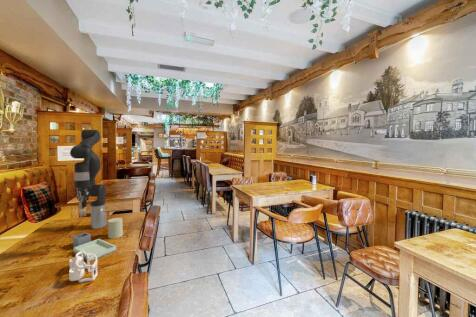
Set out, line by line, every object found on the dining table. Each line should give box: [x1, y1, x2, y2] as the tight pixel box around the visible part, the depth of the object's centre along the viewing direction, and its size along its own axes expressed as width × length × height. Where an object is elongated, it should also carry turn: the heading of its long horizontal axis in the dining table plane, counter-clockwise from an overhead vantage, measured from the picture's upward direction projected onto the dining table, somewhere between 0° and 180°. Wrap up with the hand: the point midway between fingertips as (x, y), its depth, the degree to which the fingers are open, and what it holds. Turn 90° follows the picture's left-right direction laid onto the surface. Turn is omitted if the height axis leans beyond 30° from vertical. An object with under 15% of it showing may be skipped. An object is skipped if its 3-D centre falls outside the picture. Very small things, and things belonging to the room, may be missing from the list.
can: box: [107, 217, 124, 240], centre depth 146 cm, size 9×9×12 cm
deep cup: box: [72, 232, 92, 248], centre depth 132 cm, size 7×7×6 cm
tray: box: [73, 238, 117, 263], centre depth 124 cm, size 14×20×3 cm
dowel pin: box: [78, 199, 87, 218], centre depth 128 cm, size 3×3×10 cm
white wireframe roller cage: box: [68, 251, 99, 283], centre depth 103 cm, size 20×11×7 cm, turn 39°
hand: (82, 206), depth 128 cm, fingers closed on dowel pin, 3 cm apart
